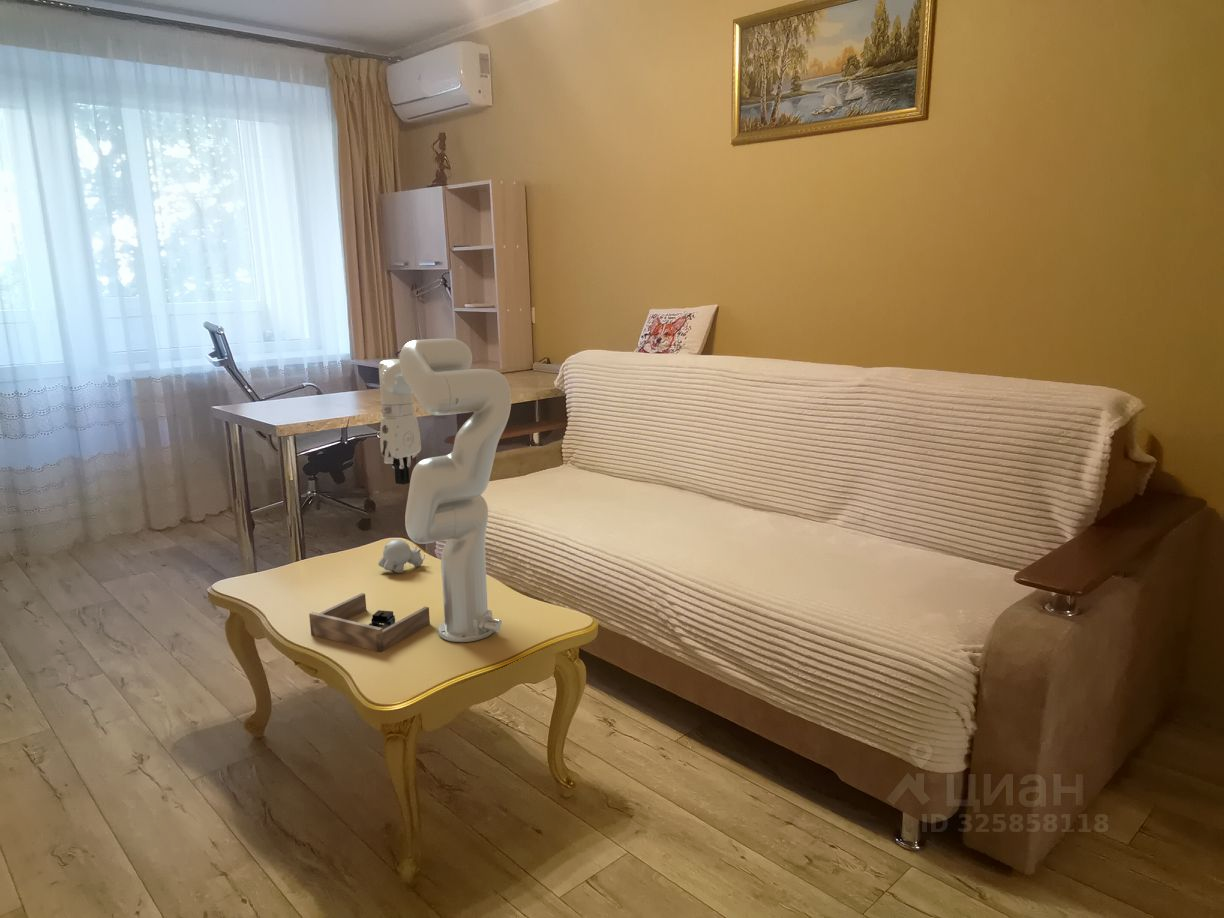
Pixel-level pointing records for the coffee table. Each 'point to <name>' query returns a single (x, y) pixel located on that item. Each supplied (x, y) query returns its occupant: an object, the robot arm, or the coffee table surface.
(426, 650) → the coffee table surface
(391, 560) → the white animal figurine
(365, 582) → the coffee table surface
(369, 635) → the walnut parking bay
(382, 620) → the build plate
